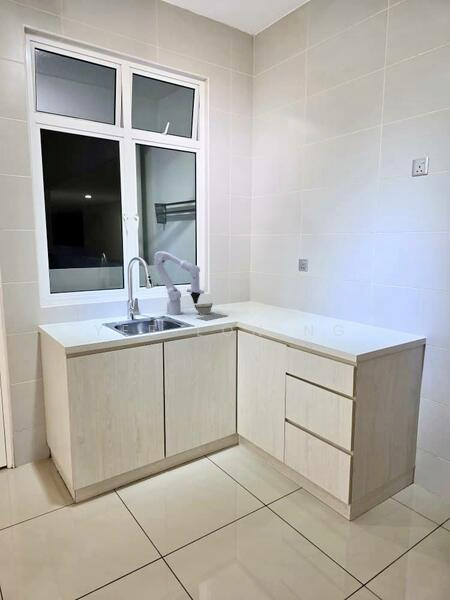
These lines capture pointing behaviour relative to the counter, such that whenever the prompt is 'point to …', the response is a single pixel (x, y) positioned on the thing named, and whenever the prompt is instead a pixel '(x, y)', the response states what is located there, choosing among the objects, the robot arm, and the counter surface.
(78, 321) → the counter surface
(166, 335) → the counter surface
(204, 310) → the food container
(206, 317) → the mat
